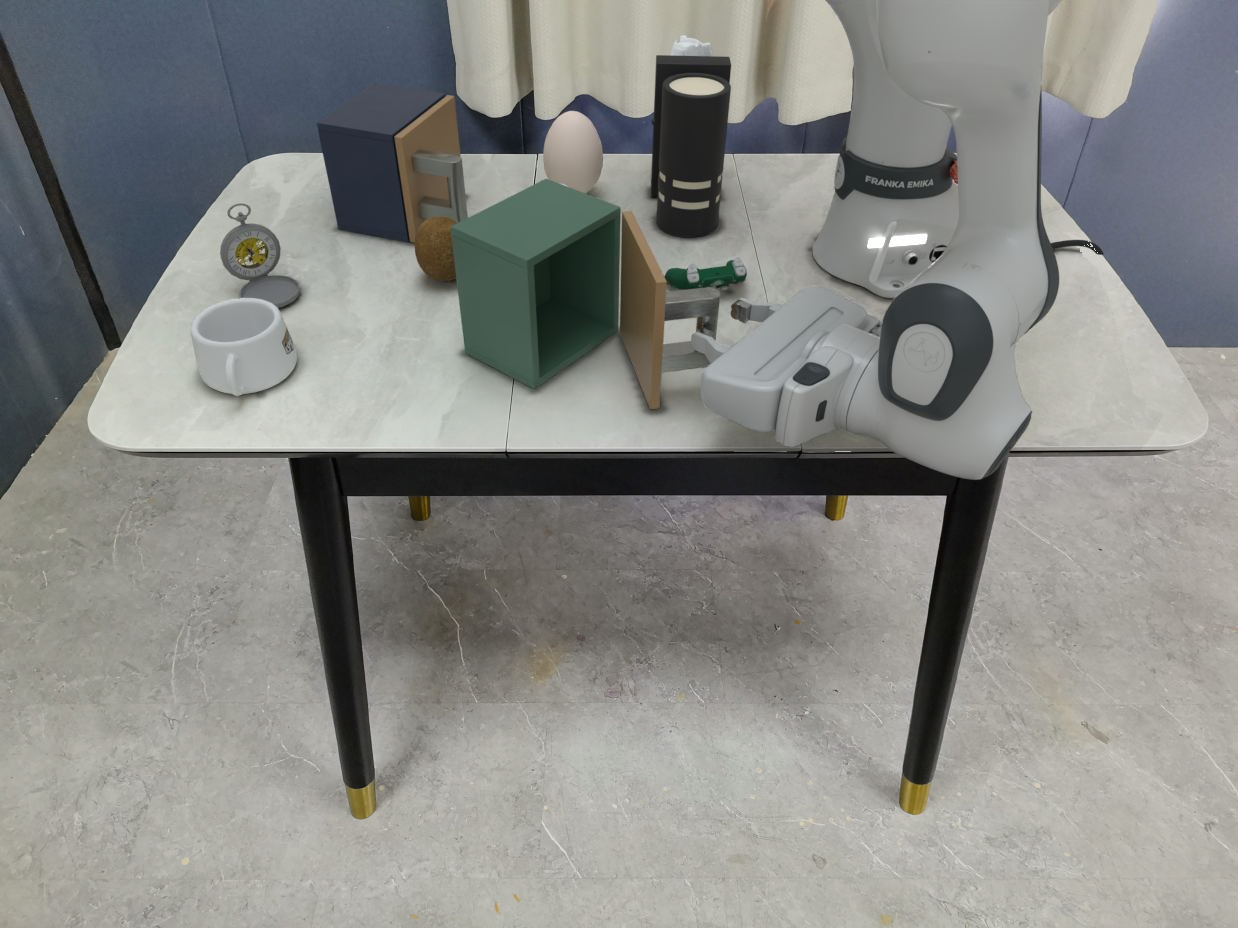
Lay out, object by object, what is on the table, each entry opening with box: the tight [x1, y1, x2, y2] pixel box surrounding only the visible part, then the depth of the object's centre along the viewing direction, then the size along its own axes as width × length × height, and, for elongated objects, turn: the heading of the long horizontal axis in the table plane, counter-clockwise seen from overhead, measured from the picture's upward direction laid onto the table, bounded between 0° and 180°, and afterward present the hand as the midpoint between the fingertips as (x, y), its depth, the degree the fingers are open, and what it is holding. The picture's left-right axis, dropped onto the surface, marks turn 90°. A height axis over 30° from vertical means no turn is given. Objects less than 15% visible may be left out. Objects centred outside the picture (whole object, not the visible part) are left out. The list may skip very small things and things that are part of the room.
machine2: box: [451, 178, 622, 390], centre depth 96 cm, size 10×14×15 cm
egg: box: [542, 110, 604, 194], centre depth 123 cm, size 8×8×11 cm
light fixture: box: [650, 54, 732, 238], centre depth 117 cm, size 10×14×18 cm
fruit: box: [413, 216, 457, 282], centre depth 107 cm, size 6×6×8 cm
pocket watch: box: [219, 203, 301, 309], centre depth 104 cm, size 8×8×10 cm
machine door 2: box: [619, 210, 721, 410], centre depth 93 cm, size 7×14×14 cm, turn 13°
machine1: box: [316, 82, 447, 243], centre depth 117 cm, size 10×14×14 cm
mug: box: [189, 297, 298, 397], centre depth 93 cm, size 12×10×6 cm
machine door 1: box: [394, 94, 469, 243], centre depth 116 cm, size 7×14×14 cm, turn 162°
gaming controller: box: [664, 256, 748, 292], centre depth 108 cm, size 9×4×6 cm
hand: (715, 321), depth 90 cm, fingers open, 5 cm apart
